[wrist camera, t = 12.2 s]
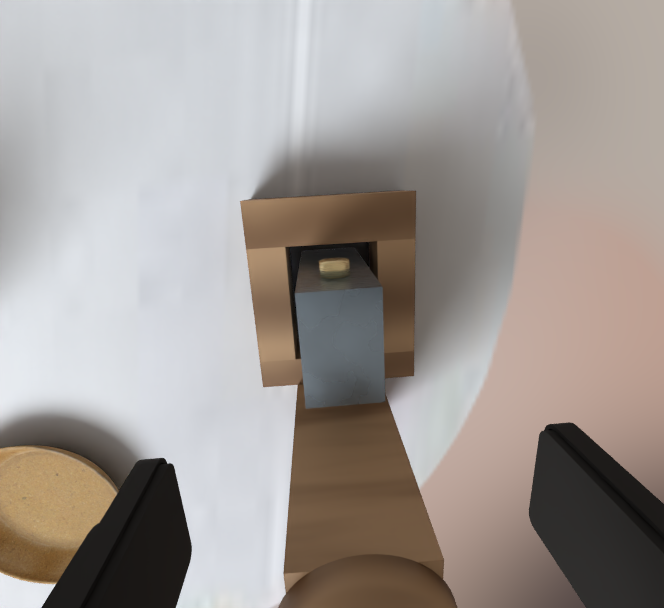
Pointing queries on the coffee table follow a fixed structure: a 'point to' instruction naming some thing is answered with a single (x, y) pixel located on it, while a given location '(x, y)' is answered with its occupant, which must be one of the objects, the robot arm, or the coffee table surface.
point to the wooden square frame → (346, 415)
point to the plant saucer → (47, 509)
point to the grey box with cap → (340, 329)
